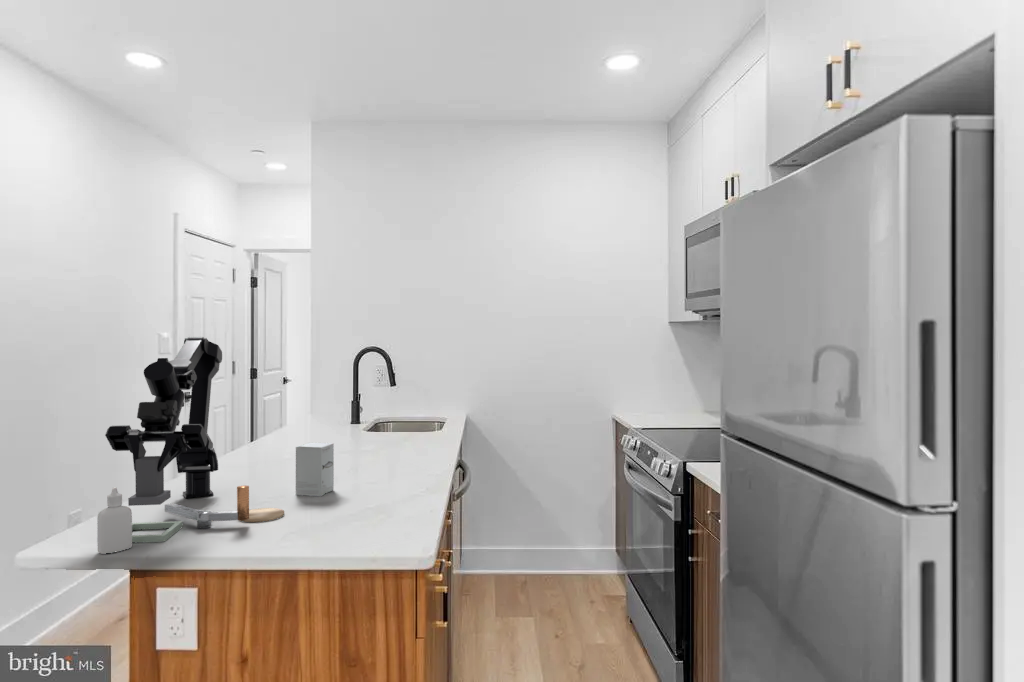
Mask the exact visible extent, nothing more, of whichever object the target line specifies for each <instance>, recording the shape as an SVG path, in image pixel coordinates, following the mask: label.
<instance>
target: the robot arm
mask: <svg viewBox="0 0 1024 682" xmlns="http://www.w3.org/2000/svg"><path fill="white" fill-rule="evenodd" d="M183 341H184V342H183V345H182V346H181V348H180V350H179V351H178V352H177V353H176V355H175V357H174V359H172V360H169V358H168V357H161V358H160V357H158V358H157V360H156V361H155V362H151V363H150V364H148V365H147V366H146V367H145V368H144V370H143V376H144V378H145V380H146V381H145V382H146V384H147V387H148V389H149V391H150V393H151V395H152V396H155V398H154V400H153V401H142V402H139V403H138V408H137V414H136V418H137V419H139V420H140V421H141V422H140V426H141V428H142V429H144V430H140V429H138V428H137V429H134V428H133V429H132V427H131V426H130V424H129V425H125V424H124V425H110V426H109V427H108V428H107V430H106V432H105V434H104V436H105V438H106V439H107V441H108V443H109V445H110V447H111V449H112V450H114V451H116V452H119V451H120V452H123V451H127V452H128V451H129V452H130V453H131V454H132V461H133V470H134V471H135V460H137V459H139V458H141V457H143V456H146V452H147V450H146V449H145V445H144V443H157V442H158V443H161V442H162V443H163V442H164V446H163V449H162V451H161V455H160V456H161V457H160V460H159V463H158V467H157V470H158V472H160V471H162V470H163V469H165V468H166V467H167V466H168V465H169V464H170V463H171V462H172V461H173V460H174V459H175V460H176V468H177V474H181V473H182V474H183V473H185V491H182V495H183V496H184V499H193V497H194V498H199V497H200V498H201V496H202V497H208V496H209V495H210V496H214V492H213V490H211V473H213V472H215V471H218V470H219V462H218V461H219V460H218V456H217V453H216V451H215V448H214V444H213V441H212V439H211V438H210V435H209V434H208V429H209V428H208V427H209V418H210V417H209V415H210V406H211V405H210V403H211V393H212V392H211V390H212V380H213V378H214V377H215V376H216V374H217V373H219V370H220V364H221V363H222V361H223V351H222V348H221V347H220V346H219V344H216V343H214V342H211V341H209V340H208V339H207V337H204V336H189V337H185V338H184V340H183ZM190 389H191V392H190V393H191V395H190V406H189V414H188V415H189V416H188V423H186V424H182V425H181V428H180V430H179V431H176V428H177V427H178V426H179V425H180V415H181V412H182V408H183V407H185V399H186V398H185V397H186V395H185V392H184V391H185V390H187V391H188V390H190ZM210 496H209V497H210Z"/></svg>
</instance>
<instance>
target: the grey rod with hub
mask: <svg viewBox="0 0 1024 682" xmlns="http://www.w3.org/2000/svg"><path fill="white" fill-rule="evenodd" d="M236 504H237V505H236V508H237V509H236V510H228V511H227V510H226V511H225V510H223V511H211V510H201V509H197V508H193V507H188V506H185V505H180V504H177V503H174V502H171V503H170V502H169V503H166V504H164V512H165V513H168V514H173V515H176V516H180V517H182V518H183V517H184V518H188V519H191V520H195V521H196V528H198V529H207V528H210V527H212V525H213V524H212V522H223V521H225V522H226V521H229V522H230V521H240V522H242V521H244V520H248V519H249V510H250V486H249V485H239V486H236Z"/></svg>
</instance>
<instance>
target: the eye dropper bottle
mask: <svg viewBox="0 0 1024 682" xmlns="http://www.w3.org/2000/svg"><path fill="white" fill-rule="evenodd" d="M106 506H107V507H106V508H104V509H101V510H100V511H99V512H98V514H97V523H96V525H97V527H96V528H97V531H96V532H97V533H96V534H97V541H96V542H97V553H99V554H101V555H107V554H106V553H111V552H115V551H121V550H124V551H126V550H125V549H127V550H129V548H130V549H131V548H132V547H133V543H132V535H133V531H132V523H133V512H132V509H131V508H130V506H126V505H123V494H122V493H119V491H118V488H117V487H112V489H111V493H110V494H108V495H107V501H106ZM121 552H122V551H121ZM111 554H112V553H111Z"/></svg>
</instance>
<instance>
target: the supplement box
mask: <svg viewBox="0 0 1024 682" xmlns="http://www.w3.org/2000/svg"><path fill="white" fill-rule="evenodd" d="M334 444H335V443H332V442H307V443H305V444H301V445H299V446H298V445H297V446H295V496H303V495H309V496H308V497H322V496H323V495H326V494H328V493H329V492H332V490H333V491H334V490H335V489H334V486H335V485H334V479H335V477H334V474H335V473H334V470H335V468H334V465H335V464H334V463H335V462H334V458H335V457H334V455H335V453H334V451H335V450H334V448H335V447H334V446H335V445H334ZM325 493H326V494H325Z"/></svg>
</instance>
